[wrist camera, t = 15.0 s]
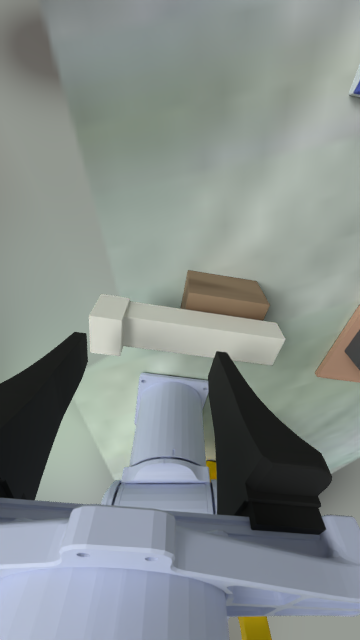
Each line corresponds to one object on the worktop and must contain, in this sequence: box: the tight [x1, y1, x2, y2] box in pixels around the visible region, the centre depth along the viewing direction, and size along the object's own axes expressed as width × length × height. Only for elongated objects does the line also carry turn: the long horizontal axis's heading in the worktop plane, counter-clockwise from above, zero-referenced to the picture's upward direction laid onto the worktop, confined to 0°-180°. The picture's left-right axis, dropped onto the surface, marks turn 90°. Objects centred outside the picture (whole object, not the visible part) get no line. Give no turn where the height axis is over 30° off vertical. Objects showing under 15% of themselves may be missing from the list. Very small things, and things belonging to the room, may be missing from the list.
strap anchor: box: [180, 270, 270, 321], centre depth 21 cm, size 5×6×4 cm
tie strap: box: [89, 294, 286, 365], centre depth 18 cm, size 3×13×3 cm, turn 80°
